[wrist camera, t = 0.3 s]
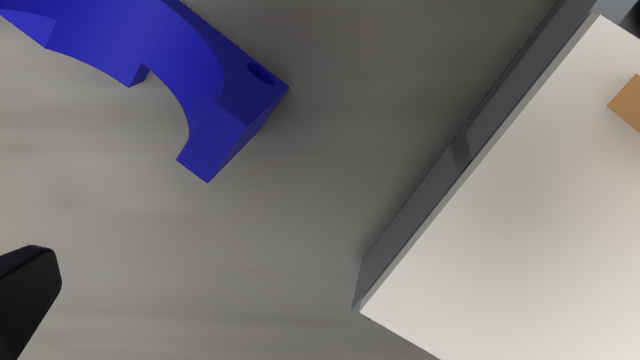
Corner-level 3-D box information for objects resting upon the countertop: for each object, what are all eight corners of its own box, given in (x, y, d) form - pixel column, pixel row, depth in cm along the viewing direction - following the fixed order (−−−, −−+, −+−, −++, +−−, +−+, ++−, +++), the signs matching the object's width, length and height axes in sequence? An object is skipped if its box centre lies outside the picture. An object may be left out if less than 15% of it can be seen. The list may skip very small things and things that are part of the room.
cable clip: (43, 3, 23) (-72, 17, 18) (75, -83, 21) (-45, -96, 16) (241, 153, 24) (189, 208, 19) (290, 86, 22) (246, 126, 17)
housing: (549, 370, 26) (569, 435, 22) (362, 260, 25) (351, 309, 22) (1008, -7, 16) (1176, 5, 12) (710, -202, 15) (796, -251, 12)
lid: (586, 430, 22) (693, 748, 13) (361, 300, 21) (315, 540, 12) (905, 207, 15) (1544, 544, 6) (591, 12, 15) (832, 92, 6)
